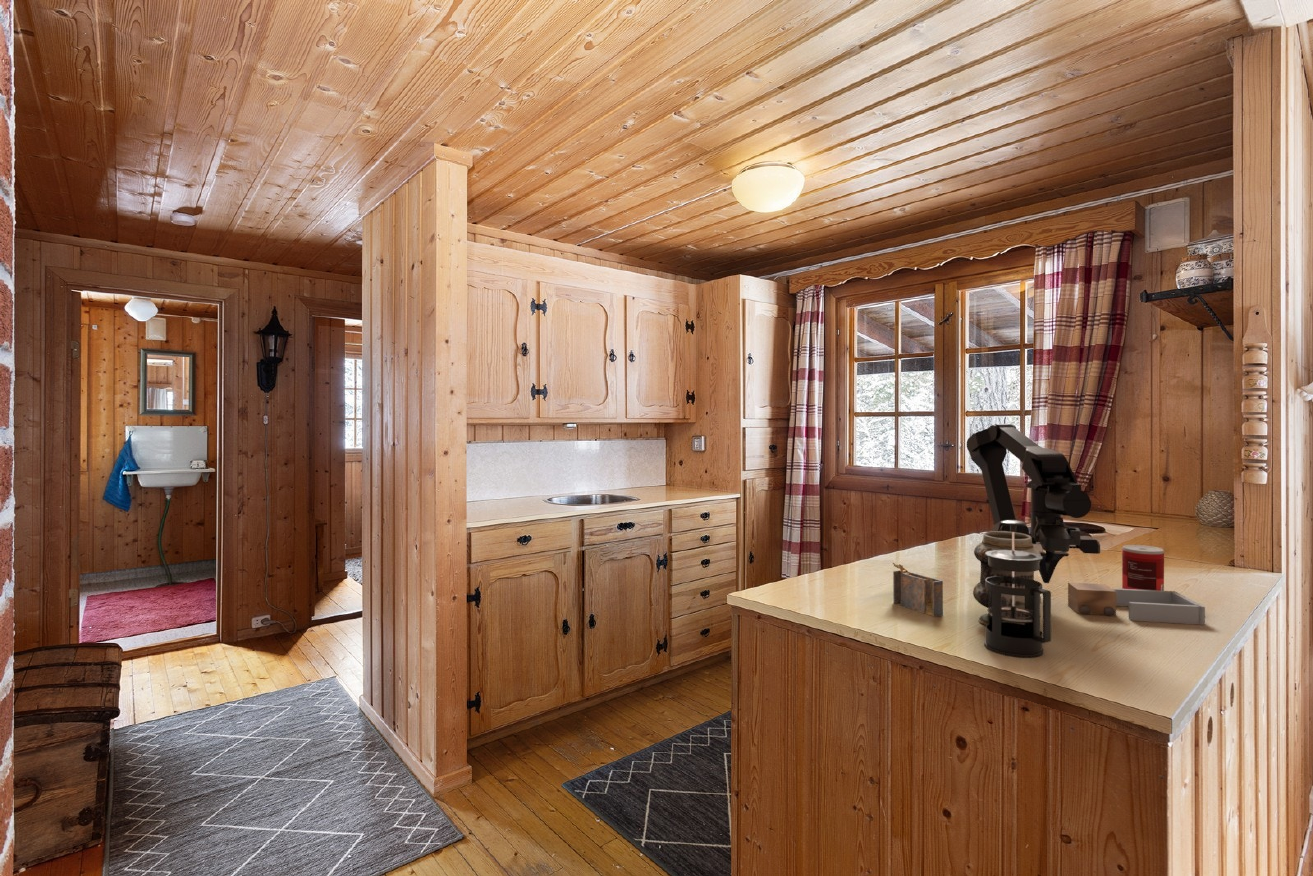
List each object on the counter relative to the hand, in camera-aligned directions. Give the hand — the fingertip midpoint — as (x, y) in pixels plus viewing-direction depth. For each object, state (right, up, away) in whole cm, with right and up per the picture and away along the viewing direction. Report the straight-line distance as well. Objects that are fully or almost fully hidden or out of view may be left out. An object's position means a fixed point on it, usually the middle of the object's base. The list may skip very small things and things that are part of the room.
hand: (1046, 582), depth 140 cm
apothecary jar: (-14, -6, -10) cm, 18 cm away
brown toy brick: (+8, -5, -2) cm, 10 cm away
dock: (+19, -5, -5) cm, 20 cm away
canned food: (+27, -5, +8) cm, 28 cm away
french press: (-20, -7, -24) cm, 32 cm away
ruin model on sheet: (-28, -7, +1) cm, 28 cm away
